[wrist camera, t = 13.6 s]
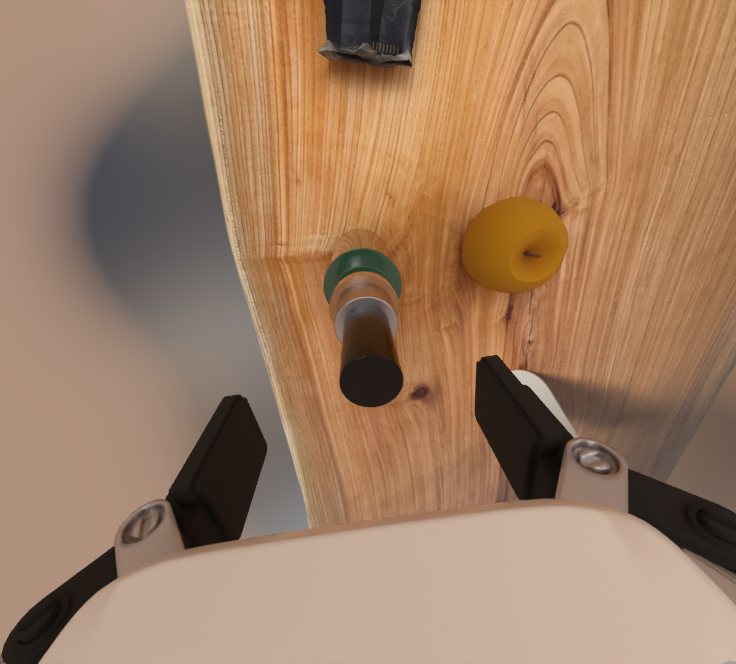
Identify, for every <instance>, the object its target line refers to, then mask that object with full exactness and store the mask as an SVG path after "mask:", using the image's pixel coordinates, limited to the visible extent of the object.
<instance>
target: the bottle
mask: <svg viewBox="0 0 736 664" xmlns="http://www.w3.org/2000/svg"><path fill="white" fill-rule="evenodd" d="M358 283H373V284H376V285H378V286H380V287H382V288H383V289H384V290H386V292H387V293H388V294H389V295H390V297H391V299H392V302H393V305H394V308H395V311H396V314H397V316H398V312H399V301H398V299H399V297H400V293H401V277H400V274H399V271H398V269H397V267H396V265H395V263H394V261H393V259H392V257H391V256H390V254H389V252H388V250H387V248H386V246H385V244H384V242H383V241H382V240H381V238H380V237H379V236H377V235H376V234H375V233H373V232H371V231H368V230H364V229H357V230H352V231H349V232H347V233H345V234H344V235H343V236H342V237H341V238H340V239H339V240H338V241H337V243H336V245H335V247H334V250H333V253H332V256H331V259H330V262H329V265H328V268H327V271H326V274H325V278H324V293H325V297H326V300H327V302H328V304H329V305H330V314H331V318H332V320H333V322H334V324H335V317H336V310H337V303H338V300H339V298H340V296H341V295H342V293H343V292H344V291H345V290H346V289H347V288H349V287H350V286H352V285H355V284H358Z"/></svg>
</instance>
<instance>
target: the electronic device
mask: <svg viewBox="0 0 736 664" xmlns="http://www.w3.org/2000/svg"><path fill="white" fill-rule="evenodd" d="M324 5H325V14H326V34H327V40H326V43H327V44H326V45H324V46H320V49H318V50H317V51H318V52H319V53H320V54H322V55H323V56H325V57H326V58H327V59H333V60H339V61H349V62H355V63H361V64H368V65H373V66H380V67H393V66H396V65H404V66H410V67H411V68H412V48H413V42H414V37H415V30H416V26H417V18H418V13H419V11H420V7H421V0H324Z"/></svg>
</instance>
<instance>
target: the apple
mask: <svg viewBox="0 0 736 664" xmlns="http://www.w3.org/2000/svg"><path fill="white" fill-rule="evenodd" d="M567 248H568V233H567V229H566V228H565V226H564V224H563V222H562V220H561V218H560V217H559V216H558V215H557V213H556V212H555V211H554V210H553V209H552V207H551V206H549V205H547V204H545V203H543V202H540V201H537V200H534V199H531V198H526V197H511V198H507V199H504V200H501V201H498V202H496V203H494V204H492V205H490V206H489V207H487V208H485V209H484V210H483V211H481V212H480V213H479V214H478V215H477V216H476V217H475V218H474V219H473V220H472V222H471V223H470V225H469V227H468V229H467V231H466V233H465V235H464V239H463V242H462V248H461V257H462V261H463V264H464V267H465V269H466V270H467V272H468V273H469V275H470V276H471V277H472V278H473V279H475V280H476V281H477V282H479V283H480V284H481V285H483V286H485V287H486V288H488V289H491V290H494V291H498V292H503V293H523V292H527V291H531V290H534V289H536V288H537V287H539V286H541V285H542V284H544V283H546V282H547V281H548V280H550V279H551V277H552V276H553V275H554V274H555V273H556V272H557V271H558V269H559V268H560V267H561V264H562V262H563V259H564V256H565V253H566V251H567Z"/></svg>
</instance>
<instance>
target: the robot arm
mask: <svg viewBox="0 0 736 664" xmlns="http://www.w3.org/2000/svg"><path fill="white" fill-rule="evenodd" d="M475 417H476V420H477V422H478V424H479V426H480V428H481V429H482V431H483V433H484V435H485V437H486V439H487V441H488V443H489V445H490V446H491V448H492V450H493V452H494V454H495V456H496V458H497V460H498V462H499V463H500V465H501V467H502V469H503V471H504V473H505V475H506V477H507V479H508V480H509V482H510V484H511V486H512V488H513V490H514V492H515V494H516V495H517V497H518V498H519V499H520V500H518V501H509V502H501V503H493V504H484V505H476V506H468V507H461V508H454V509H447V510H439V511H432V512H425V513H418V514H410V515H403V516H396V517H389V518H382V519H375V520H368V521H361V522H354V523H347V524H340V525H333V526H326V527H319V528H313V529H306V530H300V531H293V532H286V533H279V534H273V535H266V536H259V537H252V538H246V539H240V540H239V538H240V537H241V534H242V531H243V527H244V524H245V521H246V518H247V514H248V511H249V508H250V505H251V501H252V498H253V495H254V492H255V488H256V485H257V482H258V479H259V475H260V472H261V469H262V466H263V463H264V459H265V456H266V453H267V444H266V441H265V439H264V437H263V434H262V432H261V430H260V428H259V425H258V423H257V421H256V419H255V416H254V414H253V412H252V410H251V407H250V405H249V403H248V401H247V399H246V398H244V397H242V396H241V395H232V396H226V397H224V398H223V399H222V401H221V403H220V404H219V406H218V408H217V409H216V411H215V413H214V414H213V417H212V418H211V420H210V421H209V423H208V425H207V426H206V428H205V430H204V432H203V433H202V435H201V437H200V438H199V440H198V442H197V444H196V445H195V447H194V449H193V450H192V452H191V454H190V455H189V457H188V459H187V461H186V463H185V464H184V466H183V467H182V469H181V471H180V472H179V474H178V476H177V478H176V479H175V481H174V483H173V484H172V486H171V488H170V489H169V494H168V495H167V497H166V499H165V500H164V499H157V500H154V501H151V502H148V503H146V504H144V505H143V506H141V507H139V508H138V509H137V510H135V511H134V512H133V513H132V514H131V515H130V516H129V517H128V518H127V519H126V520H125V521H124V522H123V523H122V525H121V526H120V528H119V529H118V531H117V533H116V536H115V542H114V545H115V546H114V547H112V548H111V549H110V550H108V551H107V552H106V553H104V554H103V555H101V556H100V557H99V558H97V559H96V560H95V561H93V562H92V563H91V564H89V565H88V566H87V567H85V568H84V569H82V570H81V571H80V572H78V573H77V574H76V575H74V576H73V577H72V578H70V579H69V580H68V581H66V582H65V583H64V584H62V585H61V586H60V587H58V588H57V589H56V590H54V591H53V592H51V593H50V594H49V595H47V596H46V597H45V598H43V599H42V600H41V601H40V602H38V603H37V604H36V605H35V606H34V607H32V608H31V609H30V610H29V611H28V612H27V613H26V614H25V616H24V617H23V618H22V619H21V620H20V621H19V622H18V623H17V625H16V626H15V628H14V629H13V630H12V631H11V633H10V635H9V637H8V638H7V640H6V642H5V644H4V647H3V651H2V654H1V655H0V664H736V514H735V513H734V512H732V511H731V510H729V509H727V508H725V507H723V506H720V505H718V504H716V503H713V502H711V501H708V500H706V499H703V498H701V497H698V496H696V495H693V494H691V493H688V492H686V491H683V490H681V489H678V488H676V487H673V486H671V485H668V484H665V483H663V482H660V481H658V480H655V479H653V478H650V477H648V476H645V475H643V474H640V473H638V472H635V471H633V470H630V469H628V467H627V463H626V461H625V459H624V458H623V457H622V455H621V454H620V453H619V452H617V451H616V450H615V449H614V448H612V447H611V446H609V445H607V444H606V443H603V442H601V441H598V440H596V439H591V438H582V437H579V438H573V437H572V435H571V434H570V433H569V432H568V431H567V430H566V429H565V427H564V426H563V425H562V424H561V423H560V422H559V420H558V419H557V418H556V417H555V416H554V415H553V414H552V413H551V411H550V410H549V409H548V408H547V407H546V406H545V404H544V403H543V402H542V401H541V400H540V399H539V398H538V396H537V395H536V394H535V393H534V392H533V391H532V390H531V388H529V387H528V386H526V385H522V384H521V382H520V381H519V380H518V379H517V378H516V376H515V375H514V374H513V373H512V372H511V371H510V369H509V368H508V367H507V366H506V365H505V364H504V362H503V361H502V360H501V359H500V358H499V357H498V356H497V355H493V356H487V357H482V358H481V361H478V362H477V364H476V390H475Z"/></svg>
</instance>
